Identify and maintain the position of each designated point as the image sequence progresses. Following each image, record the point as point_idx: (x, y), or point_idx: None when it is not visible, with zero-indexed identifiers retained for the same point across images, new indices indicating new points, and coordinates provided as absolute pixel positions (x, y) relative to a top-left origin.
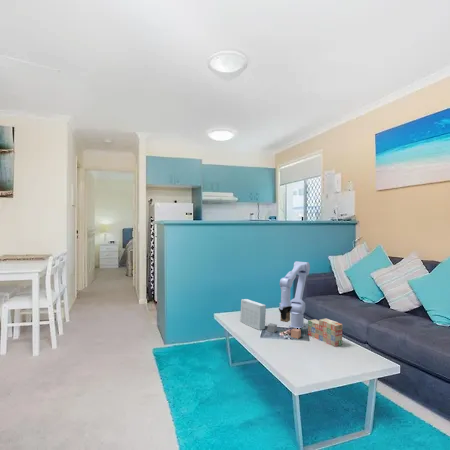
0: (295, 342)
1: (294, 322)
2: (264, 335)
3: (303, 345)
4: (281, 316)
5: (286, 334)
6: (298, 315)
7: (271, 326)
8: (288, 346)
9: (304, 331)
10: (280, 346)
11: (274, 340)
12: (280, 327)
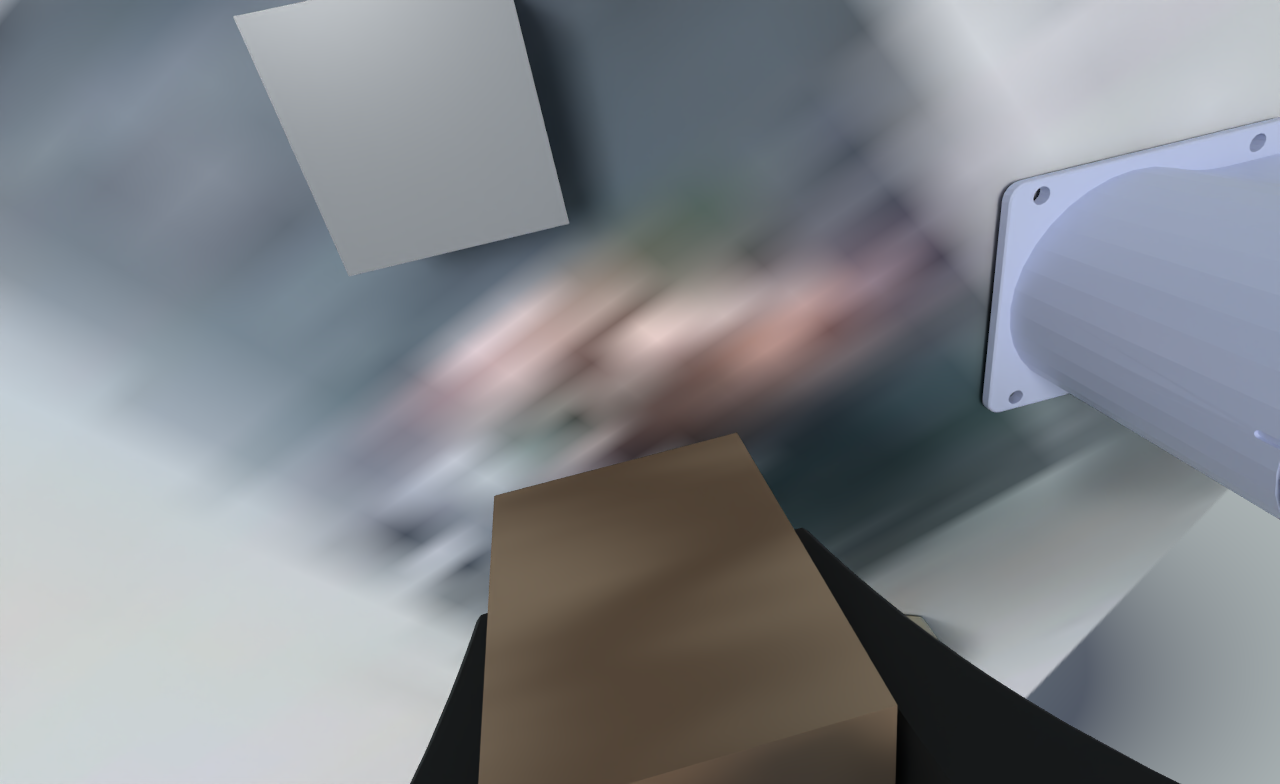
0: (390, 691)
1: (1087, 344)
2: (37, 164)
3: (401, 779)
4: (446, 706)
5: (566, 427)
6: (1273, 513)
7: (317, 184)
8: (164, 735)
9: (917, 501)
10: (22, 695)
11: (92, 496)
12: (863, 62)
